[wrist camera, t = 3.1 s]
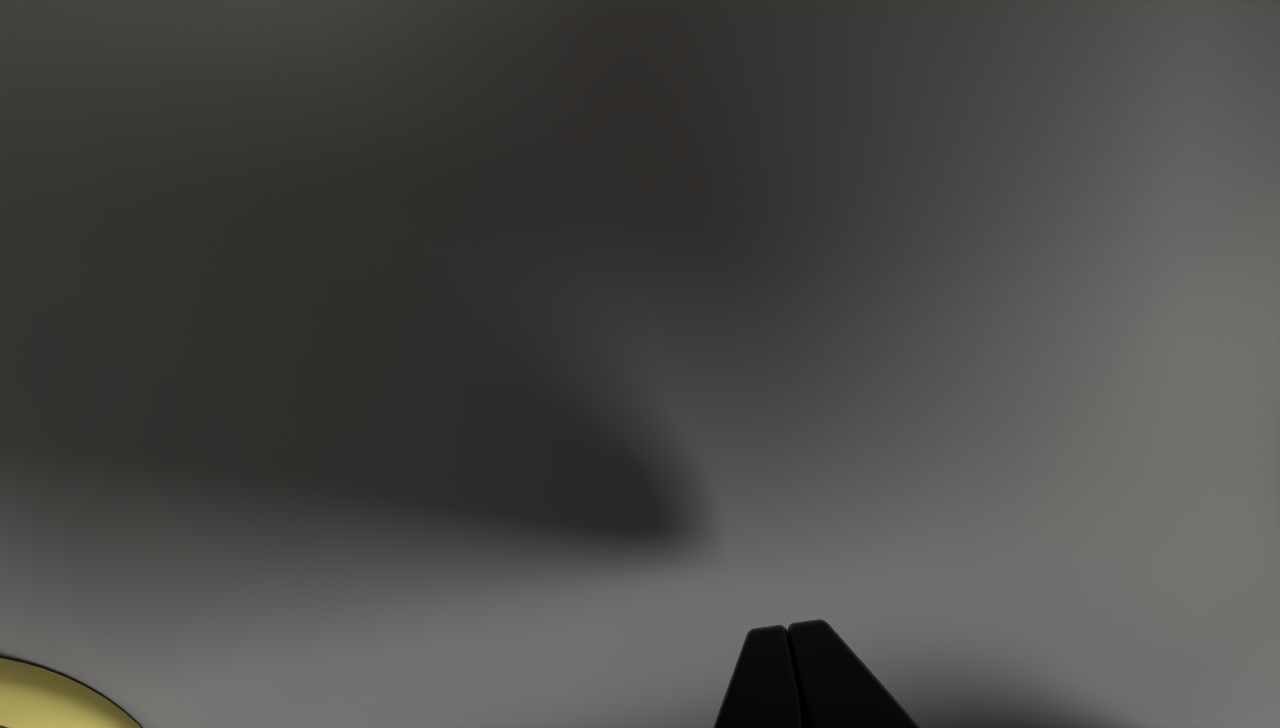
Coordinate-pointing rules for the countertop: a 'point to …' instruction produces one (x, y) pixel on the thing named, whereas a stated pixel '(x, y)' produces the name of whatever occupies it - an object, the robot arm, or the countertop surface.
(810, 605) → the countertop surface
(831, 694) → the robot arm
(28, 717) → the bollards
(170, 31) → the countertop surface
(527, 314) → the countertop surface
